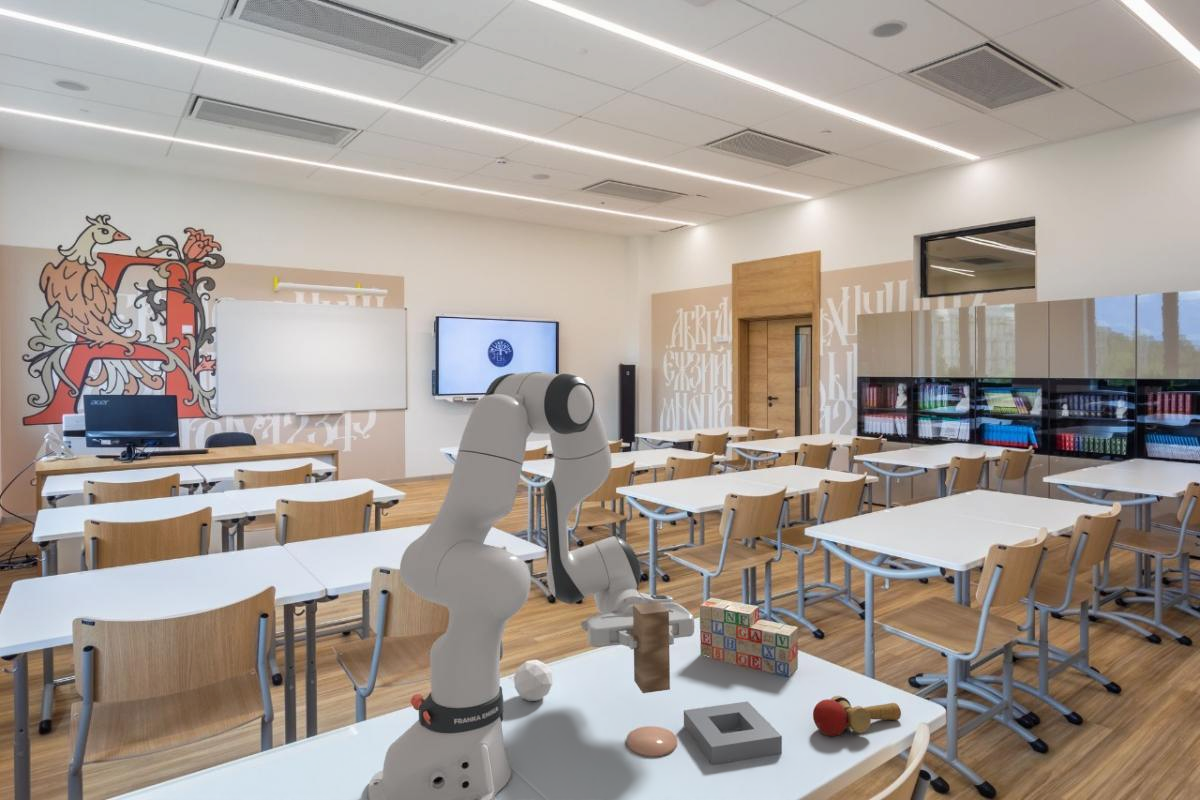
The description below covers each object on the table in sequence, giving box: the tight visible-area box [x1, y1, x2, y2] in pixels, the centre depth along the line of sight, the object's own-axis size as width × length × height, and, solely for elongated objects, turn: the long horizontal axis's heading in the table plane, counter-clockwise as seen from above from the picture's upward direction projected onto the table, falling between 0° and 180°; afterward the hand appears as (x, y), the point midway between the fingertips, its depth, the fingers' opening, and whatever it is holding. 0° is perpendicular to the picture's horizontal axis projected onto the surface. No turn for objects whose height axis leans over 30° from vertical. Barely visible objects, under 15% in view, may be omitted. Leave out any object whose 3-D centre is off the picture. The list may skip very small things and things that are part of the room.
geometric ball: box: [513, 659, 553, 702], centre depth 139 cm, size 8×8×8 cm
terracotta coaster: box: [626, 725, 678, 758], centre depth 122 cm, size 9×9×1 cm
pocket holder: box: [683, 701, 783, 765], centre depth 122 cm, size 13×13×3 cm
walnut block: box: [633, 602, 671, 694], centre depth 121 cm, size 5×5×14 cm
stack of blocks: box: [699, 597, 799, 678], centre depth 155 cm, size 21×6×12 cm, turn 55°
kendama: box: [812, 695, 902, 737], centre depth 126 cm, size 8×6×18 cm
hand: (652, 642), depth 120 cm, fingers closed on walnut block, 5 cm apart
